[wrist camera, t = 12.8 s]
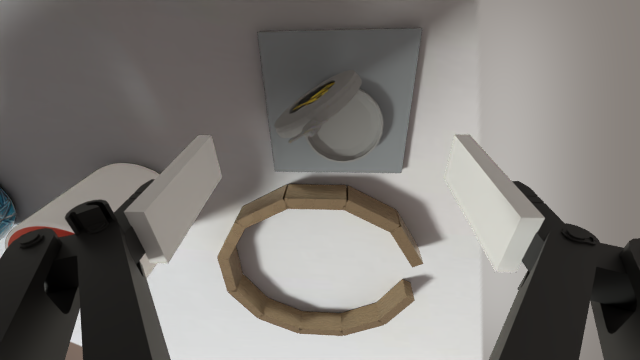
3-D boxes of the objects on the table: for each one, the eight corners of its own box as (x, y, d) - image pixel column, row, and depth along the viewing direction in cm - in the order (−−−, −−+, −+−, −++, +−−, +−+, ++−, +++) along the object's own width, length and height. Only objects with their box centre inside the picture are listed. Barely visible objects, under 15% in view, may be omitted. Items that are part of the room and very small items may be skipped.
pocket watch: (359, 168, 27) (366, 245, 18) (274, 132, 26) (241, 197, 17) (407, 87, 23) (445, 138, 14) (309, 39, 21) (287, 65, 13)
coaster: (259, 31, 22) (257, 32, 21) (420, 27, 21) (422, 28, 21) (276, 168, 28) (274, 171, 28) (400, 169, 27) (401, 173, 27)
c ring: (209, 182, 30) (198, 196, 28) (430, 186, 28) (437, 201, 26) (244, 313, 42) (239, 330, 39) (402, 321, 40) (405, 339, 38)
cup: (173, 156, 28) (101, 222, 20) (201, 232, 34) (153, 310, 25) (80, 158, 29) (-27, 223, 21) (121, 232, 35) (49, 308, 26)
